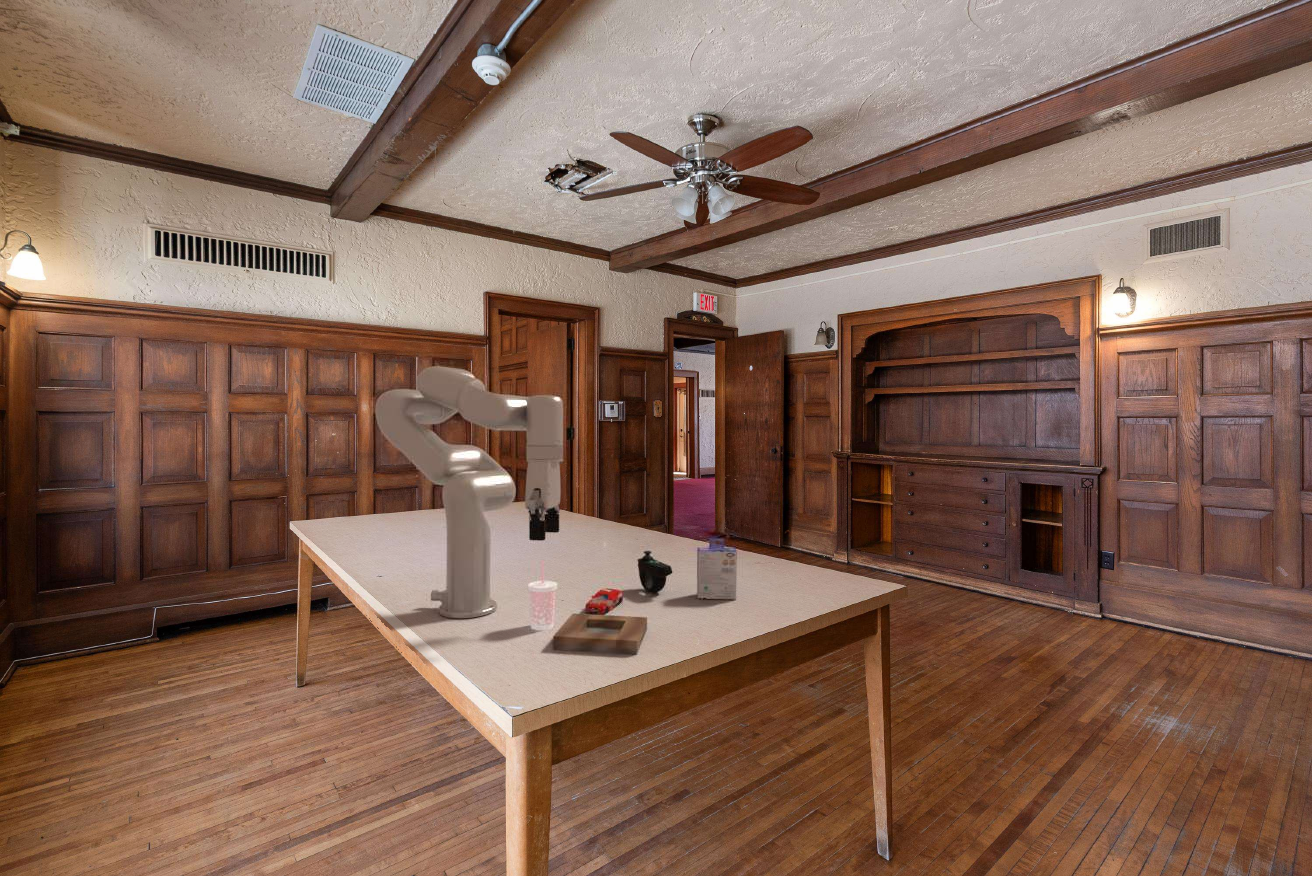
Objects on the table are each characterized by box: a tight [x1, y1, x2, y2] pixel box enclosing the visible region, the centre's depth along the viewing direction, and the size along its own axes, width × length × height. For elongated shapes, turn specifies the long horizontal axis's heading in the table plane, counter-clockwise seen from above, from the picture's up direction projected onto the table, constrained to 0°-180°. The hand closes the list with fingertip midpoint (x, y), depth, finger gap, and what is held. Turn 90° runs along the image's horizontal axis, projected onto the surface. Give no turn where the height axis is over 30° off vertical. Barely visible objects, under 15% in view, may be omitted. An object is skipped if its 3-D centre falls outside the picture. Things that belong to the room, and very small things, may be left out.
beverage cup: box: [527, 559, 558, 631], centre depth 123 cm, size 6×6×14 cm
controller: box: [637, 550, 673, 594], centre depth 150 cm, size 4×12×10 cm, turn 32°
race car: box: [584, 588, 624, 615], centre depth 138 cm, size 13×5×4 cm, turn 159°
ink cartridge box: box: [696, 537, 738, 600], centre depth 148 cm, size 10×6×14 cm, turn 89°
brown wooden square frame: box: [552, 612, 648, 655], centre depth 116 cm, size 16×14×2 cm
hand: (544, 536), depth 123 cm, fingers open, 9 cm apart
